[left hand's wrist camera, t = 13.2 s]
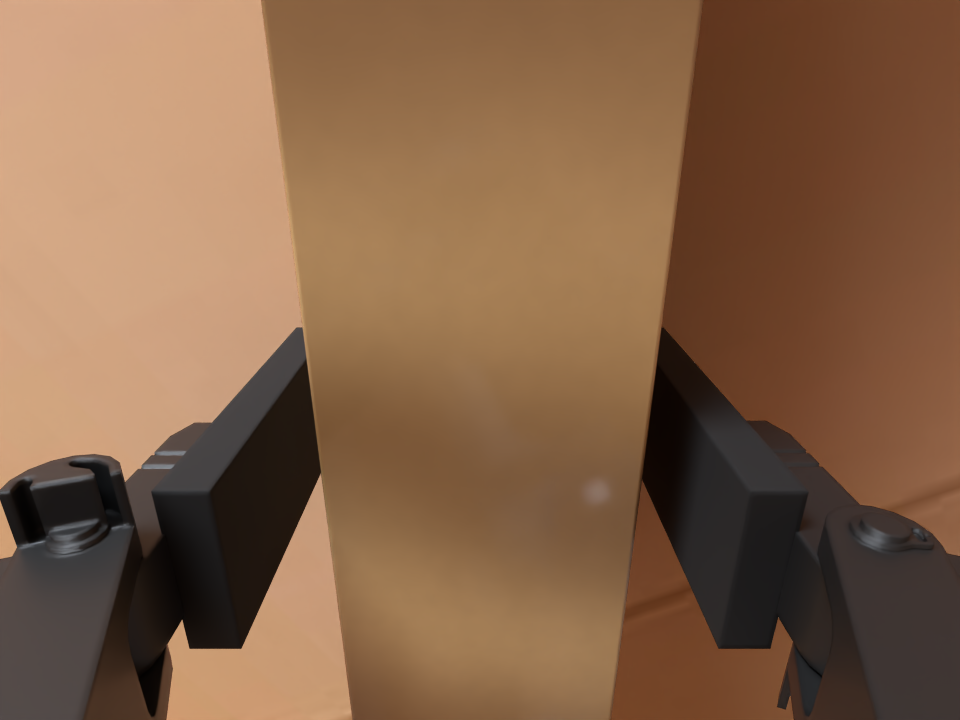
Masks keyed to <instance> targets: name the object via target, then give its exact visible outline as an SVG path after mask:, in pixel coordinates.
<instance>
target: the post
mask: <svg viewBox="0 0 960 720" xmlns="http://www.w3.org/2000/svg"><path fill="white" fill-rule="evenodd" d="M261 5H262V13H263V20H264V28H265V36H266V44H267V52H268V60H269V68H270V75H271V83H272V91H273V99H274V107H275V115H276V123H277V130H278V138H279V146H280V154H281V162H282V170H283V178H284V185H285V193H286V201H287V209H288V217H289V225H290V232H291V240H292V248H293V256H294V264H295V272H296V280H297V287H298V295H299V303H300V311H301V319H302V327H303V335H304V342H305V350H306V358H307V366H308V374H309V382H310V389H311V397H312V405H313V413H314V421H315V429H316V437H317V444H318V452H319V460H320V468H321V476H322V484H323V492H324V499H325V507H326V515H327V523H328V531H329V539H330V547H331V554H332V562H333V570H334V578H335V586H336V594H337V601H338V609H339V617H340V625H341V633H342V641H343V649H344V656H345V664H346V672H347V680H348V688H349V696H350V704H351V711H352V719H353V720H611V715H612V708H613V700H614V692H615V684H616V676H617V669H618V661H619V653H620V645H621V638H622V630H623V622H624V614H625V606H626V599H627V591H628V583H629V575H630V568H631V560H632V552H633V544H634V537H635V529H636V521H637V513H638V505H639V498H640V490H641V482H642V474H643V467H644V459H645V451H646V443H647V435H648V428H649V420H650V412H651V404H652V397H653V389H654V381H655V373H656V365H657V358H658V350H659V342H660V334H661V327H662V319H663V311H664V303H665V296H666V288H667V280H668V272H669V264H670V257H671V249H672V241H673V233H674V226H675V218H676V210H677V202H678V194H679V187H680V179H681V171H682V163H683V156H684V148H685V140H686V132H687V124H688V117H689V109H690V101H691V93H692V86H693V78H694V70H695V62H696V55H697V47H698V39H699V31H700V23H701V16H702V8H703V0H261Z"/></svg>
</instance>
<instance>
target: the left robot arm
mask: <svg viewBox="0 0 960 720" xmlns="http://www.w3.org/2000/svg"><path fill="white" fill-rule="evenodd" d="M320 474H321V468H320V460H319V452H318V444H317V437H316V429H315V421H314V413H313V405H312V397H311V389H310V382H309V374H308V366H307V358H306V350H305V342H304V335H303V328H296V329H295V330H294V331H293V332H292V333H291V334H290V336H289V337H288V338H287V339H286V340H285V341H284V342H283V343H282V345H281V346H280V347H279V348H278V349H277V350H276V351H275V352H274V354H273V355H272V356H271V357H270V358H269V359H268V360H267V362H266V363H265V364H264V365H263V366H262V367H261V368H260V369H259V371H258V372H257V373H256V374H255V375H254V376H253V377H252V378H251V380H250V381H249V382H248V383H247V384H246V385H245V386H244V387H243V389H242V390H241V391H240V392H239V393H238V394H237V395H236V396H235V398H234V399H233V400H232V401H231V402H230V403H229V404H228V405H227V407H226V408H225V409H224V410H223V411H222V412H221V413H220V414H219V416H218V417H217V418H216V419H215V420H214V421H213V422H212V423H193V424H192V425H190V426H188V427H186V428H184V429H183V430H181V431H179V432H177V433H175V434H174V435H172V436H170V437H169V438H168V439H167V440H166V441H165V442H164V443H163V444H162V445H161V446H160V447H159V448H158V449H157V450H156V451H155V455H151V457H150V458H149V459H148V460H147V461H146V462H145V463H144V464H143V465H142V468H141V469H138V470H137V471H136V472H135V473H134V474H133V475H132V476H131V477H130V478H129V479H128V480H127V481H126V482H125V481H124V477H123V473H122V470H121V466H120V462H118V461H117V460H115V459H114V458H112V457H110V456H104V455H97V454H90V455H77V456H71V457H66V458H62V459H58V460H53V461H50V462H47V463H45V464H42V465H39V466H37V467H34V468H31V469H29V470H27V471H25V472H23V473H22V474H20V475H18V476H17V477H15V478H13V479H11V480H10V481H9V482H8V483H6V484H5V485H4V486H3V487H2V488H1V489H0V501H1V504H2V506H3V509H4V512H5V515H6V517H7V520H8V523H9V526H10V529H11V531H12V534H13V537H14V540H15V542H16V545H17V549H16V551H15V553H14V554H13V556H12V557H8V558H3V559H0V720H166V718H167V710H168V702H169V694H170V686H171V678H172V670H173V668H172V661H171V656H170V652H169V648H168V642H169V641H170V639H171V637H172V635H173V634H174V632H175V630H176V629H177V627H178V625H179V624H180V622H181V620H183V624H184V628H185V632H186V636H187V640H188V644H189V648H190V649H241V648H242V646H243V644H244V642H245V639H246V637H247V635H248V633H249V631H250V628H251V626H252V624H253V622H254V620H255V617H256V615H257V613H258V611H259V609H260V606H261V604H262V602H263V600H264V597H265V595H266V593H267V591H268V589H269V586H270V584H271V582H272V580H273V578H274V575H275V573H276V571H277V569H278V567H279V564H280V562H281V560H282V558H283V555H284V553H285V551H286V549H287V547H288V544H289V542H290V540H291V538H292V536H293V533H294V531H295V529H296V527H297V525H298V522H299V520H300V518H301V516H302V513H303V511H304V509H305V507H306V505H307V502H308V500H309V498H310V496H311V494H312V491H313V489H314V487H315V485H316V483H317V480H318V478H319V476H320ZM642 480H643V482H644V485H645V487H646V489H647V491H648V494H649V496H650V498H651V500H652V502H653V505H654V507H655V509H656V511H657V513H658V516H659V518H660V520H661V522H662V524H663V527H664V529H665V531H666V533H667V536H668V538H669V540H670V542H671V544H672V547H673V549H674V551H675V553H676V555H677V558H678V560H679V562H680V564H681V566H682V569H683V571H684V573H685V575H686V578H687V580H688V582H689V584H690V586H691V589H692V591H693V593H694V595H695V597H696V600H697V602H698V604H699V606H700V608H701V611H702V613H703V615H704V617H705V620H706V622H707V624H708V626H709V628H710V631H711V633H712V635H713V637H714V639H715V642H716V644H717V646H718V648H719V649H770V648H771V644H772V640H773V636H774V632H775V628H776V624H777V620H778V617H779V619H780V621H781V622H782V624H783V626H784V627H785V629H786V631H787V632H788V634H789V636H790V637H791V639H792V641H793V644H792V648H791V652H790V656H789V659H788V663H787V667H786V671H785V675H784V678H783V682H782V686H781V690H780V694H779V699H778V705H777V707H779V708H782V709H786V707H787V703H788V700H789V697H790V696H791V700H792V708H793V716H794V720H960V556H956V555H951V554H947V553H946V551H945V549H944V548H943V546H942V545H941V544H940V542H939V541H938V540H937V539H936V538H935V537H934V535H933V534H932V533H930V532H929V531H927V530H926V529H925V528H923V527H922V526H920V525H919V524H917V523H916V522H914V521H912V520H910V519H908V518H905V517H903V516H901V515H899V514H896V513H894V512H891V511H887V510H884V509H880V508H876V507H872V506H863V505H860V504H859V503H858V502H857V501H856V500H855V499H854V498H853V497H852V496H851V495H850V494H849V493H848V492H847V491H846V490H845V489H844V488H843V487H842V486H841V485H840V484H839V483H838V482H837V481H836V480H835V479H834V478H833V477H832V476H831V475H830V474H829V473H828V472H827V471H826V470H825V469H824V468H823V467H819V463H818V462H817V461H816V460H815V459H814V458H813V457H812V456H811V455H810V454H809V453H806V450H805V449H804V448H803V447H802V446H801V445H800V444H799V443H798V442H797V441H796V440H795V439H794V438H793V437H792V436H791V435H790V434H789V433H787V432H785V431H783V430H781V429H780V428H778V427H776V426H774V425H772V424H771V423H769V422H767V421H746V420H745V419H744V418H743V417H742V416H741V414H740V413H739V412H738V411H737V410H736V409H735V408H734V407H733V405H732V404H731V403H730V402H729V401H728V400H727V399H726V398H725V396H724V395H723V394H722V393H721V392H720V391H719V390H718V389H717V387H716V386H715V385H714V384H713V383H712V382H711V381H710V380H709V378H708V377H707V376H706V375H705V374H704V373H703V372H702V370H701V369H700V368H699V367H698V366H697V365H696V364H695V363H694V361H693V360H692V359H691V358H690V357H689V356H688V355H687V354H686V352H685V351H684V350H683V349H682V348H681V347H680V346H679V345H678V343H677V342H676V341H675V340H674V339H673V338H672V337H671V336H670V334H669V333H668V332H667V331H666V330H665V329H664V328H661V334H660V342H659V350H658V358H657V365H656V373H655V381H654V389H653V397H652V404H651V412H650V420H649V428H648V435H647V443H646V451H645V459H644V467H643V474H642Z"/></svg>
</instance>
